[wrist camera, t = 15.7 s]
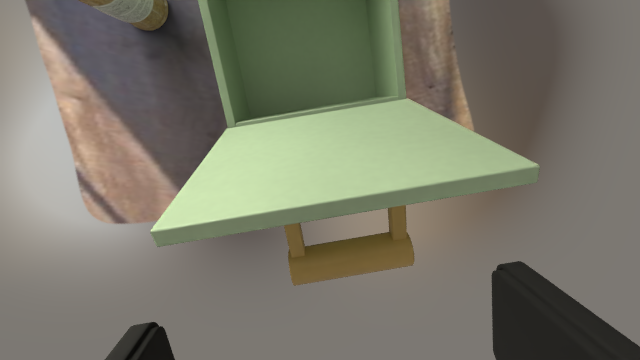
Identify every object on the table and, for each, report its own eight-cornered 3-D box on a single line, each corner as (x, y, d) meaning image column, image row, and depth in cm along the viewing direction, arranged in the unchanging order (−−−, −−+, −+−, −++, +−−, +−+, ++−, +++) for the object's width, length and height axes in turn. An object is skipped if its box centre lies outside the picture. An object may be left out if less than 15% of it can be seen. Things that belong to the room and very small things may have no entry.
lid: (148, 231, 12) (193, 329, 14) (541, 165, 12) (523, 272, 14) (226, 128, 26) (242, 186, 28) (408, 98, 26) (410, 158, 28)
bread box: (215, -19, 31) (182, -63, 23) (366, -43, 31) (390, -96, 23) (246, 124, 35) (228, 132, 26) (381, 102, 35) (406, 102, 26)
